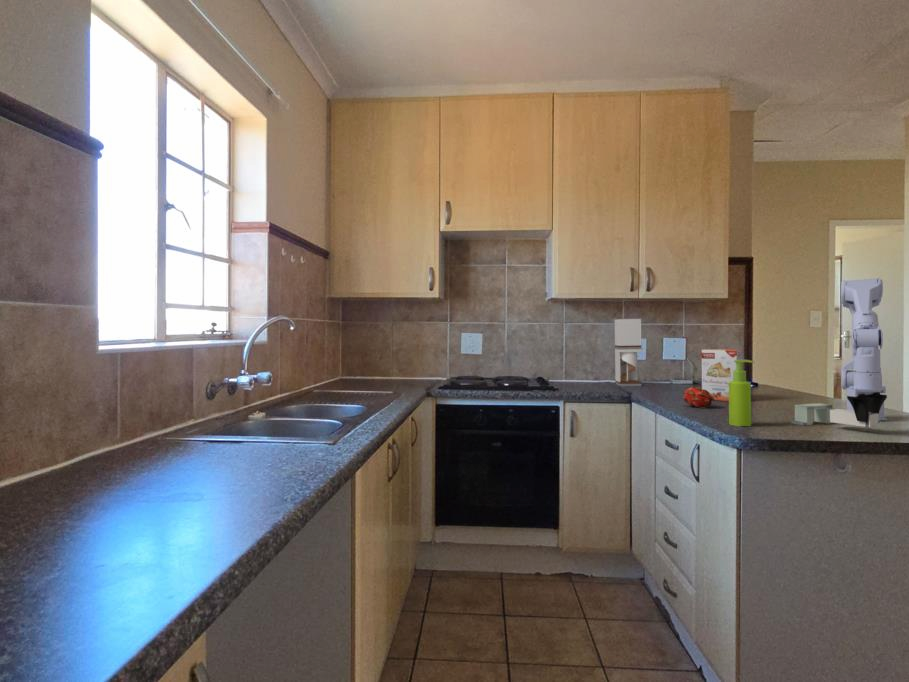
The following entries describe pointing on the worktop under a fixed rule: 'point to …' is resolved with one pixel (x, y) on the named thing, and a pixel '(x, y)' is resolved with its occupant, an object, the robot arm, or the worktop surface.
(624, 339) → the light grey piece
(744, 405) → the soap dispenser
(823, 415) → the pale green block
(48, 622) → the worktop surface
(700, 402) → the dragon fruit
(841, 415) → the bar
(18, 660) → the worktop surface
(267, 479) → the worktop surface
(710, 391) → the cracker box
